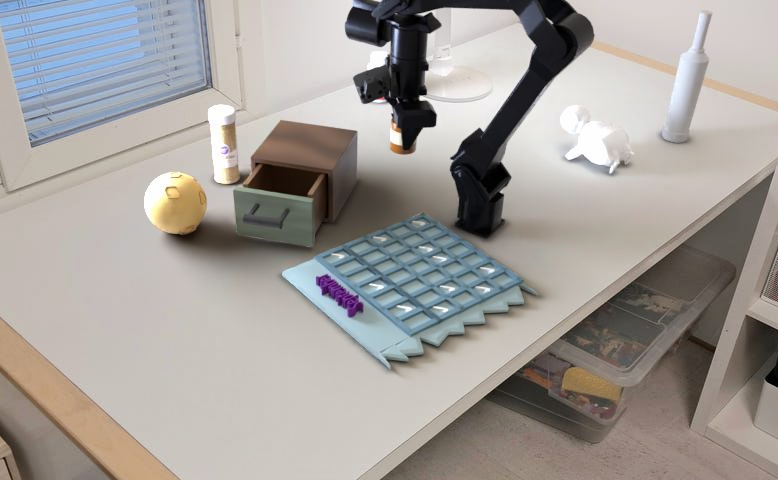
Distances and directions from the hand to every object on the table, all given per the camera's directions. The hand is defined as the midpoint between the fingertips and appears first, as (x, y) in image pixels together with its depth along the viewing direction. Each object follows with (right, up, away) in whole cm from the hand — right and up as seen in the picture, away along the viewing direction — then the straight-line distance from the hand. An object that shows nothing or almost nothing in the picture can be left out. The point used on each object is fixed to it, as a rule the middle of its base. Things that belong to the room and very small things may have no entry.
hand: (403, 143), depth 147 cm
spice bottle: (0, -1, +1) cm, 1 cm away
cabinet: (-17, -8, +6) cm, 20 cm away
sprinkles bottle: (-31, -5, +11) cm, 33 cm away
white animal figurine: (+37, +1, +20) cm, 42 cm away
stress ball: (-37, -15, -3) cm, 40 cm away
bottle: (+55, +6, +27) cm, 62 cm away
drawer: (-20, -14, -3) cm, 25 cm away
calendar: (0, -24, -14) cm, 28 cm away
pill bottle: (-4, +16, +39) cm, 43 cm away
